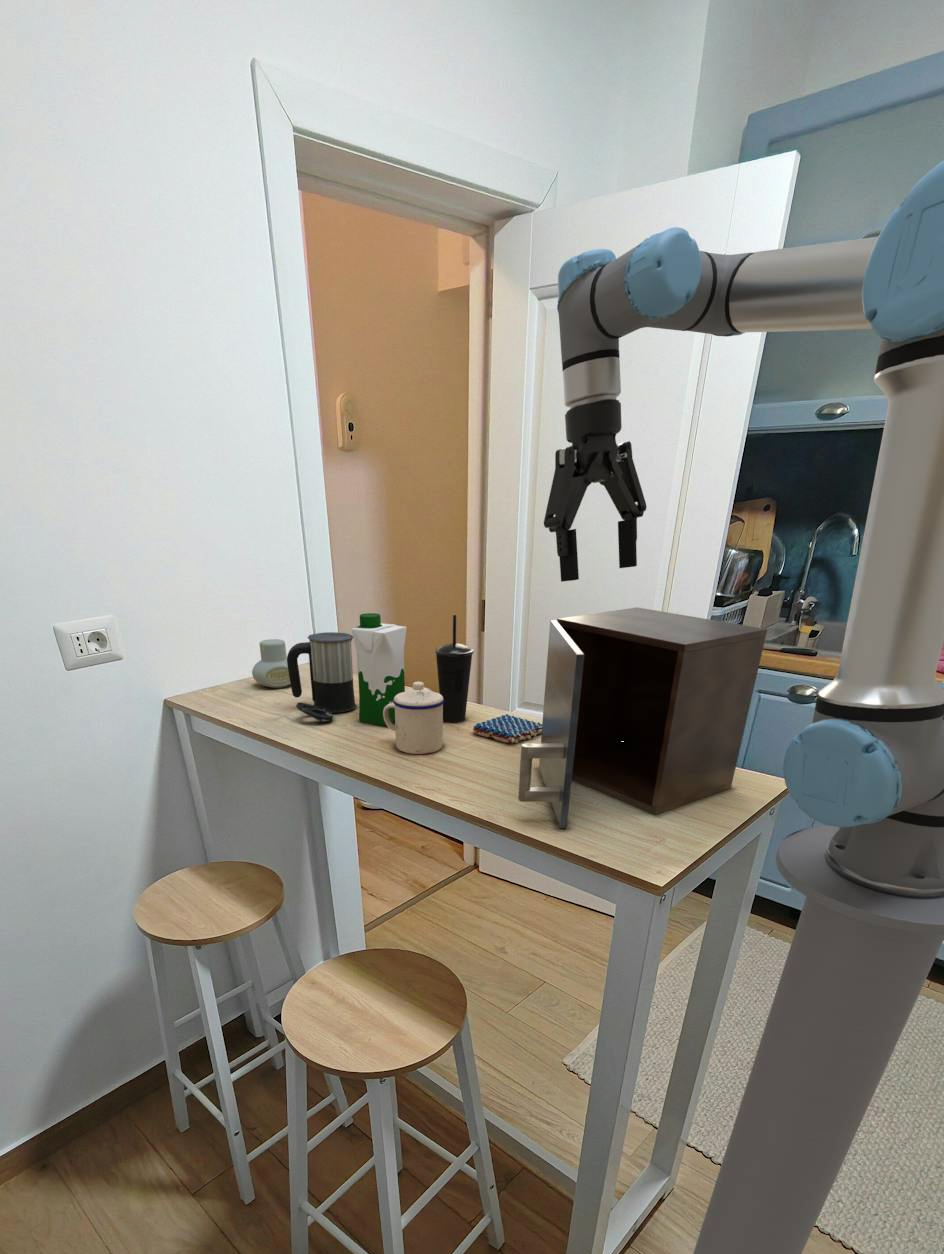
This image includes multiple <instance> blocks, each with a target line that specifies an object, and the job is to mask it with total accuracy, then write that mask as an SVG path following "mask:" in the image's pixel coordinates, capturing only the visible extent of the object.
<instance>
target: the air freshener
mask: <svg viewBox="0 0 944 1254" xmlns="http://www.w3.org/2000/svg"><path fill="white" fill-rule="evenodd" d="M259 652H260V653H259V654H260V660H259V661H258V662H256V663H255V664H254V665H253V668H252V670H251V676H252V677H253V679H254V681H255V682H257V684H259V685H260V686H263V687H266V688H271V689H283V688H287V687H288V686H291V683H290V677H289V672H288V665H287V655H288V654H287V648H286V642H285V640H284V639H278V638H270V639H269V638H268V639H264V640H263V639H262V640H261V641H260V642H259Z"/></svg>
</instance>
